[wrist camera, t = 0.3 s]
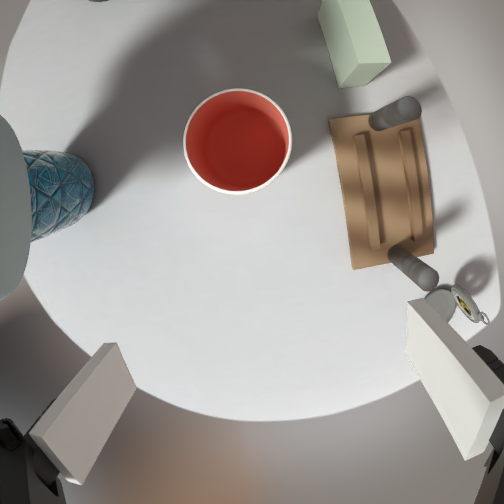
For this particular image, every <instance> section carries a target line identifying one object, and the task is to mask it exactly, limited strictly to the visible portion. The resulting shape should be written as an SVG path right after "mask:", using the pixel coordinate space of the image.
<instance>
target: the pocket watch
mask: <svg viewBox="0 0 504 504" xmlns="http://www.w3.org/2000/svg"><path fill="white" fill-rule="evenodd" d="M424 300H425V301H426V302H427V303H428V304H429V305H430V306H431V307H432V308H433V309H434V310H435V311H436V312H437V313H438V314H439V315H440V316H441V317H442V318H443V319H444V320H445V321H446V322H447V323H448V322H449V321H450V319H451V318H452V316H453V314H454V312H455V308H456V303H457V305H458V306H459V308H460V309H461V310H462V312H463V313H464V314H465V315H466V316H467V317H468V318H469V319H470V320H471V321H473V322H475V323H478V322H479V321H482V322H483V323H484V324H486V325H489V323H490V322H489V319H488V317H487V315H486V314H485V313H483V312H480V311H479V309H478V307H477V305H476V303H475V302H474V300H473V299H472V298H471V296H470V295H469V294H468V293H467V292H466V291H465V290H464V289H463V288H462V287H461V286H459V285H457V284H456V285H454V286H452V288H451V292H450V291H448V290H446V289H438V290H435V291H433V292H431V293H430V294H429V295H428V296H427V297H426V298H425V299H424ZM482 314H483V315H484V316H485V317H486V318H487V320H488V323H486V322H485V321H484V317H483V315H482Z"/></svg>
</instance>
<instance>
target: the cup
mask: <svg viewBox="0 0 504 504" xmlns="http://www.w3.org/2000/svg"><path fill="white" fill-rule="evenodd" d="M291 149H292V132H291V127H290V124H289V121H288V119H287V117H286V115H285V113H284V112H283V110H282V109H281V108H280V107H279V105H278V104H277V103H276V102H274V101H273V100H272V99H271V98H269V97H268V96H266V95H264V94H262V93H260V92H257V91H254V90H250V89H243V88H235V89H228V90H223V91H220V92H217V93H215V94H213V95H211V96H209V97H208V98H206V99H205V100H204V101H202V102H201V103H200V104H199V105H198V106H197V107H196V108H195V110H194V111H193V112H192V114H191V115H190V117H189V119H188V121H187V124H186V126H185V130H184V136H183V150H184V155H185V158H186V161H187V163H188V165H189V167H190V169H191V171H192V172H193V173H194V175H195V176H196V177H197V178H198V179H199V180H200V181H201V182H202V183H204V184H205V185H206V186H208V187H210V188H212V189H214V190H216V191H219V192H222V193H227V194H246V193H251V192H254V191H257V190H260V189H262V188H264V187H265V186H267V185H269V184H270V183H271V182H273V181H274V180H275V179H276V178H277V177H278V176H279V175H280V173H281V172H282V171H283V169H284V168H285V166H286V164H287V162H288V160H289V157H290V154H291Z"/></svg>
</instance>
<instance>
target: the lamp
mask: <svg viewBox="0 0 504 504" xmlns="http://www.w3.org/2000/svg"><path fill="white" fill-rule="evenodd" d="M93 195H94V181H93V177H92V173H91V171H90V169H89V167H88V166H87V164H86V163H85V162H84V161H83V160H82V159H80V158H79V157H77V156H75V155H72V154H68V153H64V152H56V151H41V150H22V149H21V146H20V144H19V141H18V139H17V137H16V135H15V133H14V131H13V129H12V128H11V126H10V125H9V123H8V122H7V121H6V120H5V119H4V118H3V117H2V116H1V115H0V300H2V299H3V298H5V297H7V296H8V295H10V294H11V293H12V292H13V291H14V290H15V289H16V287H17V286H18V284H19V282H20V280H21V278H22V276H23V274H24V271H25V268H26V264H27V260H28V255H29V249H30V243H31V242H34V241H36V240H39V239H41V238H44V237H46V236H49V235H51V234H53V233H55V232H58V231H60V230H62V229H64V228H66V227H68V226H70V225H72V224H74V223H75V222H77V221H78V220H80V219H81V218H82V217H83V216H84V215H85V214H86V212H87V211H88V209H89V207H90V205H91V203H92V200H93Z"/></svg>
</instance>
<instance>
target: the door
mask: <svg viewBox="0 0 504 504" xmlns="http://www.w3.org/2000/svg"><path fill="white" fill-rule="evenodd" d="M317 17H318V20H319V23H320V26H321V29H322V32H323V35H324V38H325V42H326V45H327V48H328V52H329V55H330V59H331V62H332V66H333V69H334V73H335V77H336V80H337V84H338V88H347V87H360V86H365V85H366V84H367V83H369V82H370V81H371V80H372V79H373V78H374V77H375V76H377V75H378V74H379V73H380V72H381V71H382V70H384V69H385V68H386V67H387V66H388V65H389V64H391V59H390V56H389V53H388V50H387V47H386V44H385V41H384V38H383V35H382V32H381V29H380V27H379V24H378V21H377V18H376V16H375V13H374V11H373V8H372V6H371V3H370V1H369V0H322V2H321V6H320V9H319V13H318V16H317Z"/></svg>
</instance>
